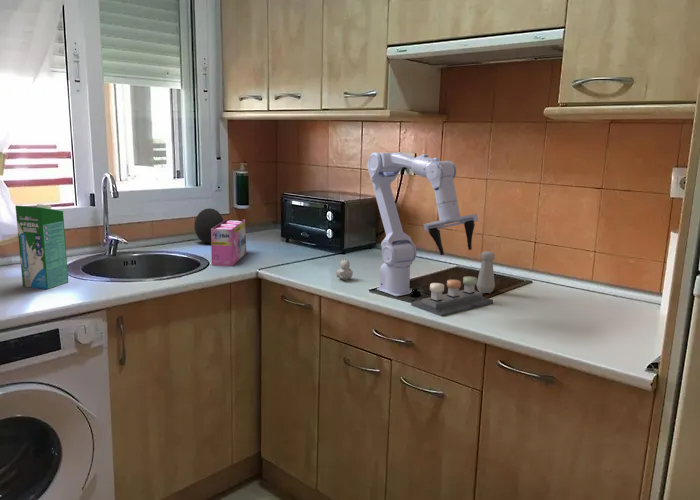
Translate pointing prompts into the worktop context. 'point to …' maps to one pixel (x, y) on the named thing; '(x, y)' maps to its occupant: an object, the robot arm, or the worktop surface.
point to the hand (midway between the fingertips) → (456, 252)
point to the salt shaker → (486, 273)
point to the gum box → (228, 242)
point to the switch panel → (453, 303)
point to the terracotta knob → (453, 287)
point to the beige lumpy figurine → (344, 270)
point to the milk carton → (42, 246)
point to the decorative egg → (207, 224)
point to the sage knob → (469, 284)
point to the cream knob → (436, 290)
